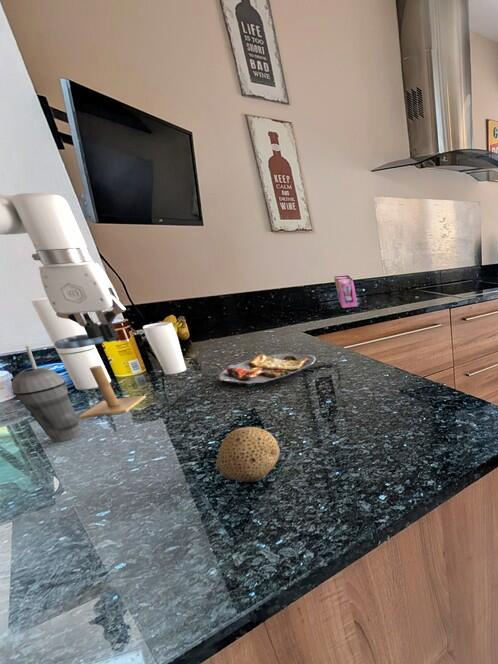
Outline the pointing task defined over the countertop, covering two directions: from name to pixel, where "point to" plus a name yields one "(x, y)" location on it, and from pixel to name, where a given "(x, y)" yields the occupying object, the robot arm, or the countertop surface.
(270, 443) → the natural sponge
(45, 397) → the beverage cup
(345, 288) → the gum box
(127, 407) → the ring stand
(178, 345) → the drinking glass
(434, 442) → the countertop surface
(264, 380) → the food plate
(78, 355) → the cylindrical container
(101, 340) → the ring
